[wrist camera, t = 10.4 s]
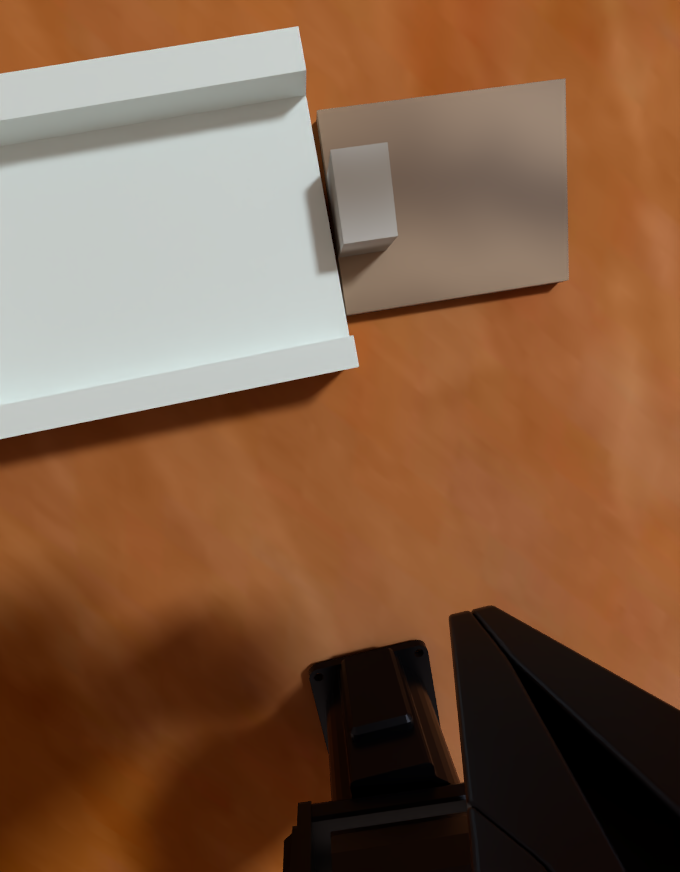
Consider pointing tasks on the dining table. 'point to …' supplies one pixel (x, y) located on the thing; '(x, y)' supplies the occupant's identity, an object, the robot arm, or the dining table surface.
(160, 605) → the dining table surface
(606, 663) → the dining table surface
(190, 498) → the dining table surface
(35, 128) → the open box
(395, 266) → the cover plate
